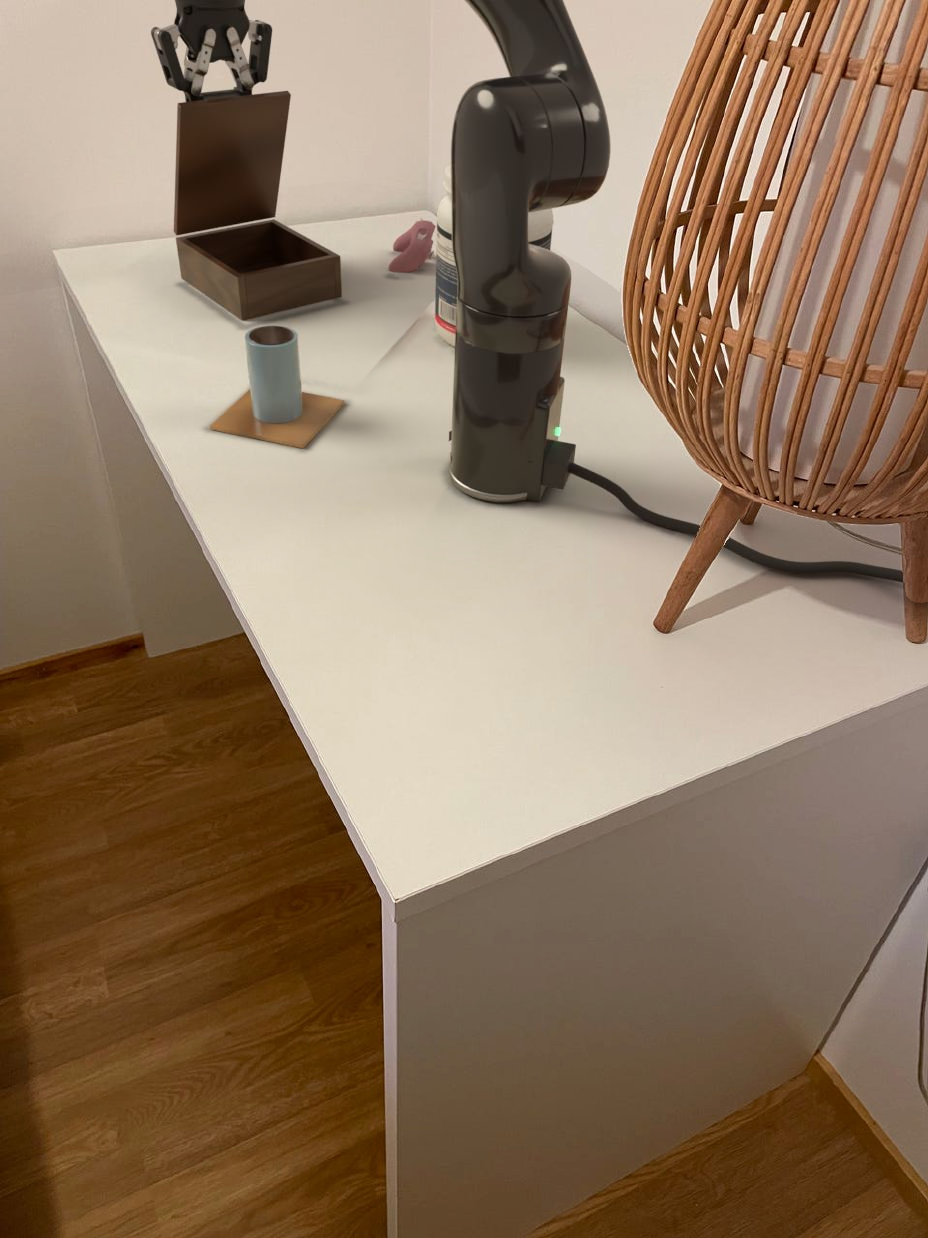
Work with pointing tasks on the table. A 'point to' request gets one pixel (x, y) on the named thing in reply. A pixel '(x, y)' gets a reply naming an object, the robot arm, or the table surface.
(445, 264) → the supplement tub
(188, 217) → the lid
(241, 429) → the mat
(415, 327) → the table surface
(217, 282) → the open wooden box
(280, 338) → the cup
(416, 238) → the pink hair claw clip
